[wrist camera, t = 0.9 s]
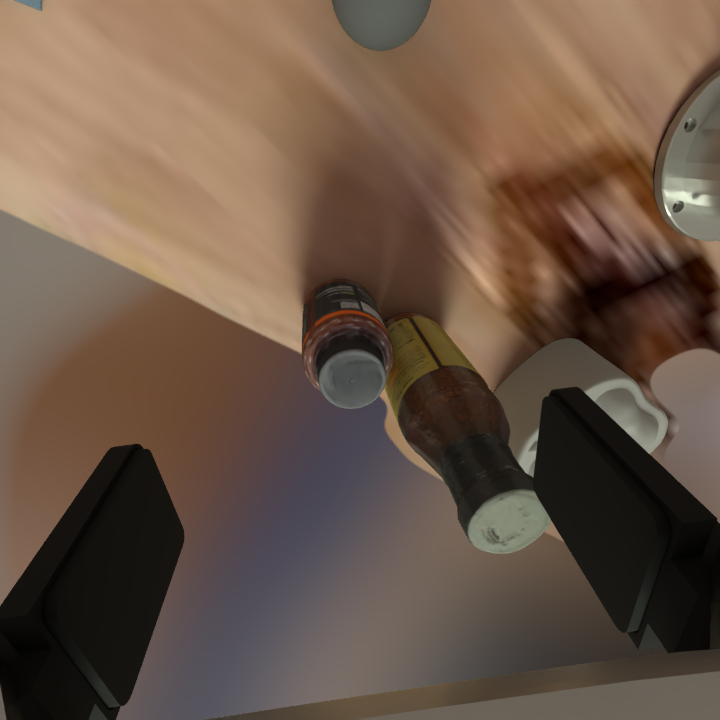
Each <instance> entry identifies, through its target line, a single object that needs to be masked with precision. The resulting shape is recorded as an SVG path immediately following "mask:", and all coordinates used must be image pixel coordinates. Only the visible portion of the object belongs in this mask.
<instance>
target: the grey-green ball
mask: <svg viewBox="0 0 720 720" xmlns="http://www.w3.org/2000/svg"><path fill="white" fill-rule="evenodd" d="M332 3H333V7H334V10H335V13H336V16H337V18H338V20H339V23H340V24H341V26H342V28H343V29H344V31H345V32H346V33H347V34H348V36H350V37H351V38H352V39H353V40H354V41H355V42H356V43H358V44H359V45H361V46H363V47H365V48H368V49H371V50H377V51H384V50H390V49H393V48H396V47H398V46H400V45H402V44H403V43H405V42H406V41H408V40H409V39H410V38H411V37H412V36H413V35H414V34H415V33H416V31H417V30H418V29H419V27H420V26H421V24H422V23H423V21H424V19H425V17H426V15H427V12H428V10H429V7H430V3H431V0H332Z"/></svg>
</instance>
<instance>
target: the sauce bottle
mask: <svg viewBox="0 0 720 720" xmlns="http://www.w3.org/2000/svg"><path fill="white" fill-rule="evenodd" d="M384 326H385V328H386V330H387V333H388V335H389V338H390V340H391V343H392V348H393V364H392V368H391V370H390V373H389V375H388V377H387V378H386V383H385V386H384V387H385V390H386V393H387V395H388V398H389V400H390V403H391V406H392V408H393V411H394V414H395V417H396V419H397V422H398V424H399V427H400V429H401V432H402V434H403V436H404V438H405V439H406V441H407V442H408V444H409V445H410V446H411V448H412V449H413V450H414V451H415V452H416V453H418V454H419V455H420V456H421V457H422V458H423V459H424V460H425V461H426V462H427V463H428V464H429V465H430V466H431V467H432V468H433V469H434V470H435V471H436V472H437V473H438V474H439V475H440V476H441V477H442V478H443V480H444V482H445V484H446V485H447V486H448V487H449V489H450V492H451V494H452V497H453V498H454V501H455V503H456V505H457V509H458V511H457V512H458V520H459V522H460V524H461V526H462V528H463V530H464V532H465V534H466V536H467V537H468V539H469V541H470V543H472V545H474V546H475V547H477V548H478V549H480V550H483V551H486V552H491V553H495V554H498V553H502V554H507V553H511V552H514V551H518V550H521V549H522V548H524V547H526V546H527V545H529V544H531V543H532V542H534V541H535V540H536V539H537V538H538V537H539V536H540V535H541V534H542V533H543V532H544V531H545V530H546V529H547V527H548V526H549V524H550V521H551V519H550V517H549V516H548V514H547V512H546V511H545V509H544V507H543V506H542V504H541V502H540V501H539V499H538V497H537V496H536V493H535V491H534V487H533V477H532V476H530V475H529V474H527V473H525V471H524V470H523V468H522V467H521V466H520V465H519V463H518V461H517V460H516V458H515V457H514V456H513V453H512V450H511V449H510V447H509V445H508V444H509V438H510V433H511V432H510V426H509V423H508V420H507V417H506V414H505V412H504V409H503V407H502V404H501V403H500V401H499V400H498V399H497V397H496V396H495V395H494V394H493V393H492V391H491V390H490V389H489V388H488V386H487V384H486V382H485V380H484V379H483V378H482V377H481V375H480V374H479V373H478V372H477V370H476V369H475V368H474V367H473V366H472V364H471V363H470V362H469V361H468V359H467V358H466V357H465V356H464V354H463V353H462V352H461V351H460V349H459V348H458V347H457V346H456V345H455V344H454V342H453V341H452V340H451V339H450V337H449V336H448V335H447V334H446V332H445V331H444V330H443V329H442V328H441V327H440V326H439V325H438V324H437V323H435V322H434V321H433V320H432V319H431V318H430V317H427V316H424V315H422V314H416V313H401V314H398V315H396V316H394V317H392V318H390V319H389V320H388V321H387V322H386V323H384Z"/></svg>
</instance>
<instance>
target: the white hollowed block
mask: <svg viewBox="0 0 720 720" xmlns="http://www.w3.org/2000/svg"><path fill="white" fill-rule="evenodd" d="M568 387H579V388H580V389H582V390H583V391H584V392H585V393H586V394H587V395H588V396H589V397H590V398H591V399H592V400H593V401H594V402H595V403H596V404H597V405H598V406H599V407H600V408H602V409H603V410H604V411H605V412H606V413H607V414H608V415H609V416H610V417H611V418H612V419H613V420H614V421H615V422H616V423H617V424H618V425H619V426H620V427H621V428H623V429H624V430H625V431H626V432H627V433H628V434H629V435H630V436H631V437H632V438H633V439H634V440H635V441H636V442H637V443H638V444H639V445H640V446H641V447H643V448H644V449H645V450H646V451H647V452H648V453H649V454H650V453H651V452H652V451H653V450H654V449H655V448H656V447H657V446H658V445H659V444H660V443H661V441H662V440H663V438H664V436H665V433H666V431H667V426H668V419H667V416H666V414H665V413H664V412H663V411H662V410H661V409H660V408H659V407H657V406H656V405H655V404H654V403H652V402H651V401H650V400H648V399H647V398H646V397H645V396H644V395H643V393H642V391H641V389H640V387H639V385H638V384H637V383H636V382H635V381H634V380H633V379H632V378H631V377H629V376H628V375H626V374H625V373H624V372H623V371H621V370H620V369H619V368H617V367H616V366H614V365H613V364H612V363H610V362H609V361H607V360H606V359H605V358H603V357H602V356H600V355H599V354H598V353H596V352H595V351H594V350H592V349H591V348H590V347H588V346H587V345H585V344H584V343H583V342H581V341H580V340H578V339H574V338H565V339H560V340H557V341H554V342H552V343H550V344H548V345H546V346H544V347H543V348H541V349H540V350H539V351H537V352H536V353H535V354H534V355H532V356H531V357H530V358H528V359H527V360H526V361H525V362H523V363H522V364H521V365H520V366H519V367H518V368H516V369H515V370H514V371H513V372H512V373H511V374H510V375H509V376H508V377H507V378H506V379H505V380H504V381H503V382H502V383H501V384H500V385H499V387H498V388H497V389H496V390H495V392H494V395H495V396H496V397H497V399H498V400H499V401H500V403H501V404H502V407H503V409H504V412H505V414H506V417H507V420H508V423H509V426H510V432H511V433H510V438H509V444H508V445H509V447H510V449H511V450H512V453H513V456H514V457H515V458H516V460H517V461H518V463H519V465H520V466H521V467H522V468H523V470H524V471H525V473H527V474H529V475H530V476H532V477H533V476H534V467H535V459H536V450H537V442H538V433H539V424H540V416H541V407H542V401H543V398H544V397H546V396H549V393H550V391H551V390H553V389H560V388H568Z"/></svg>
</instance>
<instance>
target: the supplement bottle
mask: <svg viewBox="0 0 720 720" xmlns="http://www.w3.org/2000/svg"><path fill="white" fill-rule="evenodd" d="M302 362H303V367H304V371H305V373H306V375H307V377H308V379H309V380H310V381H311V382H312V384H313V385H314V386H315V387H316V388H317V389H318V390H320V391H321V392H322V394H323V395H324V397H325V398H326V399H327V400H328V401H329V402H331V403H332V404H334V405H336V406H338V407H342V408H348V409H351V408H352V409H353V408H359V407H363V406H366V405H368V404H370V403H371V402H373V401H374V400H375V399H377V398H378V396H379V395H380V394H381V392H382V391H383V389H384V386H385V383H386V378H387V377H388V375H389V373H390V370H391V368H392V364H393V348H392V343H391V340H390V338H389V335H388V333H387V330H386V328H385V326H384V323H383V321H382V319H381V316H380V314H379V312H378V309H377V307H376V304H375V302H374V300H373V299H372V297H371V295H370V294H369V292H368V291H367V290H366V289H365V288H363V287H362V286H361V285H359V284H357V283H356V282H352V281H349V280H341V279H338V280H331V281H328V282H325V283H323V284H321V285H320V286H318V287H317V288H316V289H315V290H314V291H313V292H312V293H311V294H310V295H309V297H308V298H307V300H306V303H305V306H304V311H303V327H302Z"/></svg>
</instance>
